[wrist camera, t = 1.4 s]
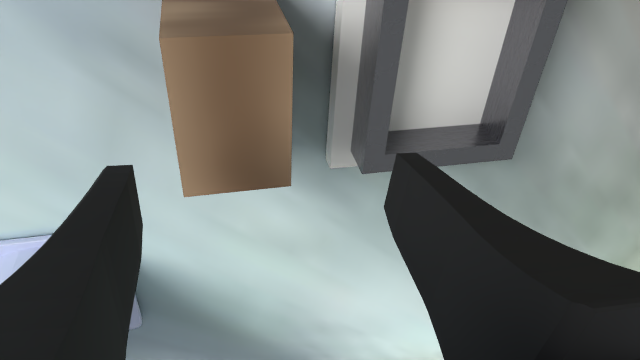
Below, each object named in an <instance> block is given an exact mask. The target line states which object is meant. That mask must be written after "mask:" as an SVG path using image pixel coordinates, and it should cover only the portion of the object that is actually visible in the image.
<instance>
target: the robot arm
mask: <svg viewBox="0 0 640 360" xmlns="http://www.w3.org/2000/svg"><path fill="white" fill-rule="evenodd" d="M384 209H385V213H386V216H387V220H388V223H389V226H390V229H391V232H392V235H393V238H394V240H395V242H396V244H397V246H398V249H399V251H400V253H401V255H402V257H403V259H404V261H405V263H406V265H407V268H408V270H409V272H410V274H411V276H412V278H413V280H414V282H415V284H416V286H417V288H418V290H419V292H420V295H421V297H422V299H423V301H424V304H425V306H426V308H427V311H428V313H429V316H430V319H431V322H432V325H433V327H434V330H435V333H436V336H437V339H438V342H439V345H440V348H441V351H442V354H443V358H444V360H640V272H637V271H634V270H631V269H627V268H624V267H621V266H618V265H615V264H612V263H609V262H606V261H604V260H601V259H598V258H596V257H593V256H590V255H588V254H585V253H583V252H580V251H578V250H575V249H573V248H570V247H568V246H566V245H564V244H561V243H559V242H557V241H555V240H553V239H551V238H548V237H546V236H544V235H542V234H540V233H538V232H536V231H534V230H532V229H530V228H529V227H527V226H525V225H523V224H521V223H519V222H518V221H516V220H514V219H512V218H510V217H509V216H507V215H505V214H504V213H502V212H500V211H499V210H497V209H496V208H494V207H493V206H491V205H490V204H488V203H486V202H485V201H483V200H482V199H480V198H479V197H478V196H476V195H475V194H473V193H472V192H470V191H469V190H467V189H466V188H465V187H463V186H462V185H461V184H459V183H458V182H456V181H455V180H454V179H452V178H451V177H450V176H448V175H447V174H446V173H444V172H443V171H442V170H440V169H439V168H438V167H436V166H435V165H433V164H432V163H431V162H429V161H428V160H427V159H425V158H424V157H422V156H421V155H419V154H418V153H397V154H396V158H395V162H394V166H393V171H392V175H391V179H390V183H389V188H388V192H387V196H386V200H385V205H384ZM142 230H143V223H142V217H141V211H140V205H139V200H138V194H137V188H136V182H135V176H134V171H133V165H120V166H107V167H106V168H105V169H104V170H103V171H102V172H101V174H100V175H99V177H98V178H97V179H96V181H95V182H94V184H93V185H92V186H91V188H90V189H89V191H88V192H87V193H86V195H85V196H84V197H83V199H82V200H81V201H80V202H79V204H78V205H77V206H76V207H75V209H74V210H73V211H72V212H71V214H70V215H69V216H68V217H67V219H66V220H65V221H64V222H63V223H62V224H61V226H60V227H59V228H58V229H57V230H56V231H55V232H54V233H53V234H52V235H46V236H37V237H28V238H19V239H10V240H1V241H0V360H126V347H127V339H128V332H129V330H131V329H136V328H138V327H140V326H141V325H142V316H141V312H140V309H139V305H138V302H137V298H136V294H135V292H136V286H137V280H138V275H139V269H140V263H141V254H142Z"/></svg>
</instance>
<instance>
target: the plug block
mask: <svg viewBox="0 0 640 360" xmlns="http://www.w3.org/2000/svg"><path fill="white" fill-rule="evenodd" d="M159 41H160V47H161V54H162V60H163V66H164V73H165V79H166V86H167V92H168V98H169V105H170V111H171V118H172V124H173V130H174V137H175V143H176V150H177V156H178V162H179V169H180V175H181V182H182V188H183V195H184V197H190V196H200V195H209V194H219V193H229V192H238V191H248V190H257V189H267V188H277V187H286V186H291V150H292V88H293V32H292V30H291V28H290V26H289V24H288V22H287V20H286V18H285V16H284V14H283V12H282V10H281V9H280V7H279V5H278V3H277V1H276V0H162V8H161V21H160V33H159Z"/></svg>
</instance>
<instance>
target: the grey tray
mask: <svg viewBox="0 0 640 360" xmlns="http://www.w3.org/2000/svg"><path fill="white" fill-rule="evenodd" d="M566 3H567V0H336V13H335V27H334V42H333V57H332V71H331V86H330V101H329V116H328V130H327V145H326V160H327V162H328V165H329V167H330V169H334V168H344V167H354V166H358V167H359V169H360V171H361V173H362V174H367V173H377V172H387V171H393V166H394V162H395V158H396V154H397V153H418V154H419V155H421V156H422V157H424V158H425V159H427V160H428V161H429V162H431V163H432V164H433V165H435V166H436V167H437V166H447V165H457V164H467V163H477V162H487V161H497V160H507V159H512V157H513V154H514V151H515V148H516V145H517V143H518V140H519V137H520V134H521V131H522V128H523V126H524V123H525V120H526V117H527V114H528V111H529V108H530V106H531V103H532V100H533V97H534V94H535V91H536V88H537V86H538V83H539V80H540V77H541V74H542V71H543V69H544V66H545V63H546V60H547V57H548V54H549V51H550V49H551V46H552V43H553V40H554V37H555V34H556V31H557V29H558V26H559V23H560V20H561V17H562V14H563V11H564V9H565V6H566Z"/></svg>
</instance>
